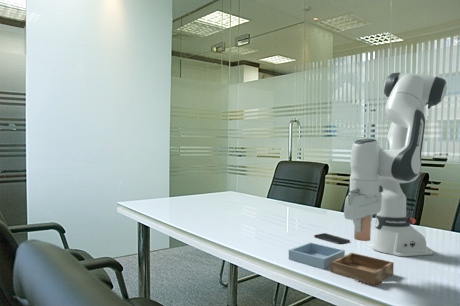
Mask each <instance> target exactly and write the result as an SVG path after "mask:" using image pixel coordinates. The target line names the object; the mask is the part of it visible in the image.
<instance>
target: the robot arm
mask: <svg viewBox="0 0 460 306" xmlns="http://www.w3.org/2000/svg"><path fill="white" fill-rule="evenodd" d="M447 92H448V85H447V80H446V79H444V78H442V77H439V76H431V75H428V74H423V73H405V72H403V73H401V72H392V73H390V74H389V75H388V76H387V78H386V79H385V81H384V84H383V93H384V95H385V96H386V98H387V101H386V103H385V107H384V112H385V115H386V117H387V118H388V119H389V121H390V122H391V123H390V125H389V128H388V133H387V135H386V140H387V142H388V145H389V149H384V148H383V147H380V145H379V143H378V140H377V139H374V138H361V139H357V140H355V141H354V142H353V143H352V146H351V150H350V151H351V152H350V161H349V163H350V164H349V165H350V176H349V192H348V193H347V196H346V197H345V199H344V200H345V201H344V207H343V208H344V211H343V216H344V218H345V219H346V220H350V221H352V222H353V226H354V227H355V231H357V232H360V231H362V226H361V223H360V221H361V218H364V217H366V216H369V215H371V222H372V221H373V215H374V216H375V218H374V227H375V232H374V238H373V242H372V245H371V248H372V249H373V250H375V251H377V252H380V253H384V254H389V255H394V256H397V257H413V256H415V257H416V256H431V255H434V250H433V249H431V248H430V247H428V246H427V240H426V238H425V236H424V235H423V234H422V233H420V232H419V231H418V230H417V229H416V228H414V227H413V225H414V224H415V222H416V219H415V218H413V217H409V216H407V196H406V194H405V193H404V192H403V189H402V188H401V185H400V184H407V183H412V182H414V181H416V180H417V179H418V178H419V176H420V174H421V170H422V150H423V142H424V137H425V129H426V118H425V109H426V108H425V107H426V106H427V109H428V110H429V109H431V107H434V106H437V105H439V104H440V103H441V102H442V101H443V99H444V98H445V97H446V95H447ZM411 224H413V225H412V226H411Z"/></svg>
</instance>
